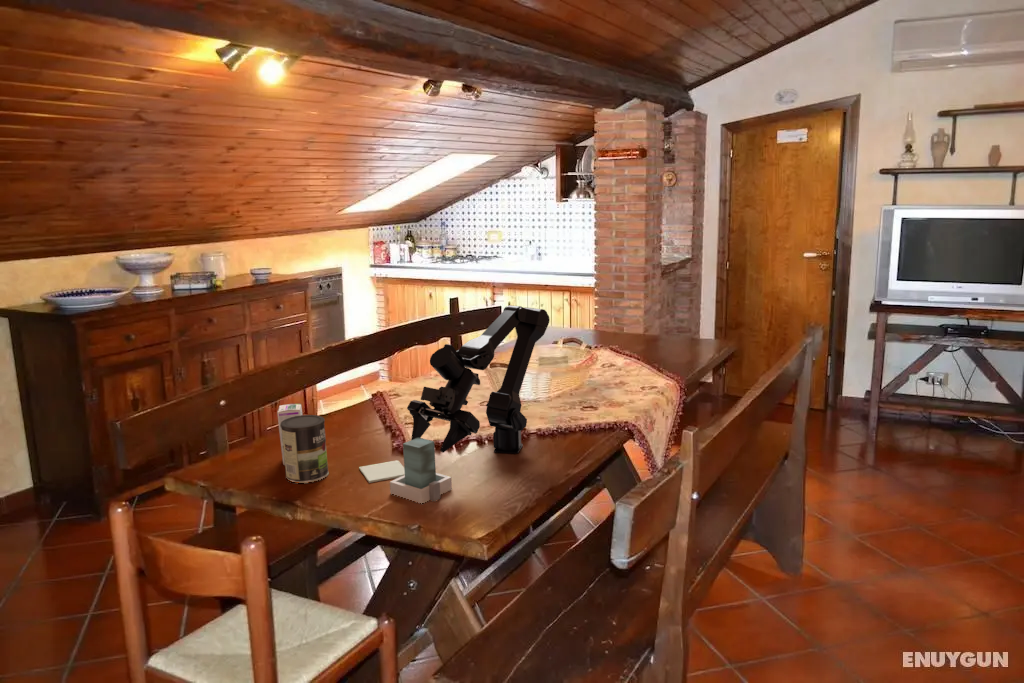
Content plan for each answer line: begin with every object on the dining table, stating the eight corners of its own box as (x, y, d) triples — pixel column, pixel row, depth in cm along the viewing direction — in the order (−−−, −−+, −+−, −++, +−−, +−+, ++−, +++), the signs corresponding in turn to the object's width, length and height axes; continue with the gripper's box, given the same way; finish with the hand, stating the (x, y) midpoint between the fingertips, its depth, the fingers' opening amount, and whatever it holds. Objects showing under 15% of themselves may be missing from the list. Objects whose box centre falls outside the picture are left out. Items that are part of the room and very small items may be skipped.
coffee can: (335, 468, 198) (331, 414, 194) (318, 485, 188) (313, 428, 185) (296, 467, 199) (292, 413, 196) (278, 483, 189) (272, 427, 186)
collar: (420, 479, 189) (419, 464, 188) (456, 490, 182) (455, 474, 181) (390, 494, 181) (389, 477, 180) (426, 505, 174) (425, 488, 174)
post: (420, 485, 186) (418, 437, 183) (436, 490, 183) (434, 441, 180) (405, 492, 182) (402, 443, 179) (421, 497, 179) (418, 447, 176)
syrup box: (306, 463, 202) (301, 409, 198) (282, 465, 200) (276, 411, 197) (307, 455, 207) (302, 402, 204) (283, 457, 206) (278, 404, 203)
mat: (397, 461, 201) (397, 460, 201) (409, 475, 192) (409, 473, 192) (359, 468, 197) (359, 467, 197) (369, 482, 188) (369, 480, 188)
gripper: (410, 367, 188) (378, 423, 182) (470, 378, 177) (439, 438, 171) (434, 391, 196) (404, 446, 190) (493, 403, 185) (464, 462, 179)
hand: (426, 447), depth 182 cm, fingers open, 9 cm apart
